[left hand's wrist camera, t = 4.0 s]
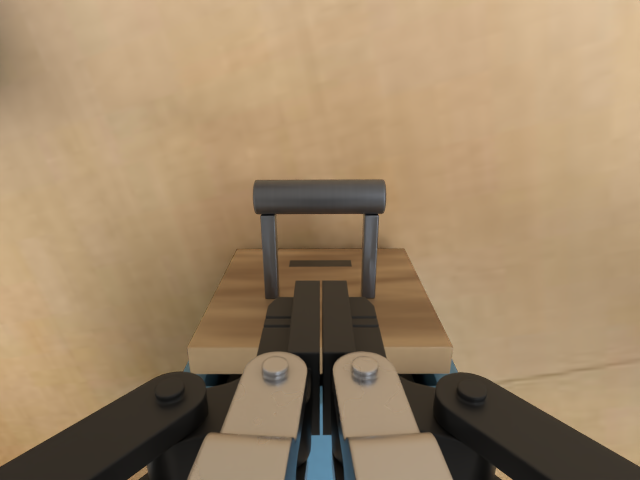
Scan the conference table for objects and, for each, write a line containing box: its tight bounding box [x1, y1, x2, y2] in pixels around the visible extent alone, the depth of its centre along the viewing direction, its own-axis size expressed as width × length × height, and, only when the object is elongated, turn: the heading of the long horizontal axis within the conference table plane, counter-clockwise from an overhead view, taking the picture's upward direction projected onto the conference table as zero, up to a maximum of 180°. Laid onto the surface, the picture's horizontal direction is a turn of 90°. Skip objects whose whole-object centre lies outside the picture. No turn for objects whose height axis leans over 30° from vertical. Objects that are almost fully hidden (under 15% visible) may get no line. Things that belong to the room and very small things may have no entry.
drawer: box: [187, 180, 453, 386], centre depth 23 cm, size 26×10×10 cm, turn 0°
